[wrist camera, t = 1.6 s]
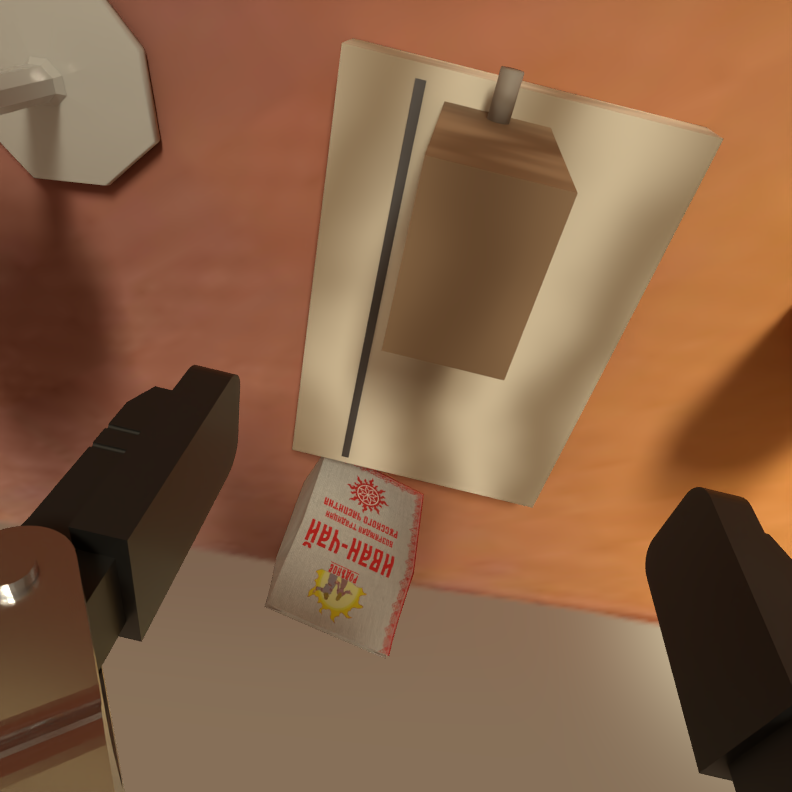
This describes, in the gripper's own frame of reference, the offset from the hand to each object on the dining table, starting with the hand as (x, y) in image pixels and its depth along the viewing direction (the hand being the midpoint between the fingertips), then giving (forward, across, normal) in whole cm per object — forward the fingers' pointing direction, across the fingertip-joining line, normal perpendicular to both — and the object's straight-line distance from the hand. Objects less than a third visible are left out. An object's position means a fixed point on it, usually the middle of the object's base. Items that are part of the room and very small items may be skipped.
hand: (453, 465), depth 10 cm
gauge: (+16, 0, 0) cm, 16 cm away
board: (+18, -1, +6) cm, 19 cm away
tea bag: (+18, +2, +20) cm, 27 cm away
